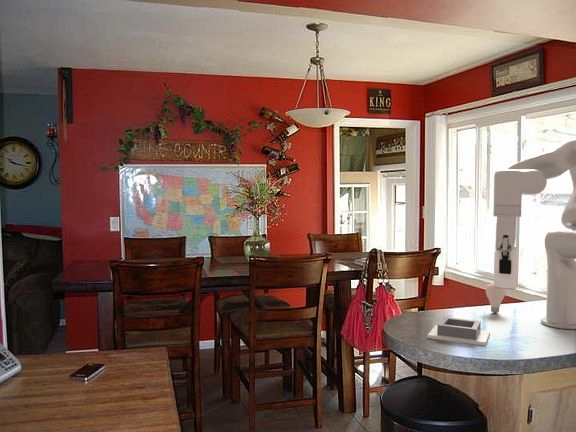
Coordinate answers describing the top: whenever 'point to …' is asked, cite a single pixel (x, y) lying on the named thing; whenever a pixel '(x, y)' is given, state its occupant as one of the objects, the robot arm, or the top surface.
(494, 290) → the light bulb
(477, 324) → the socket board
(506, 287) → the can
